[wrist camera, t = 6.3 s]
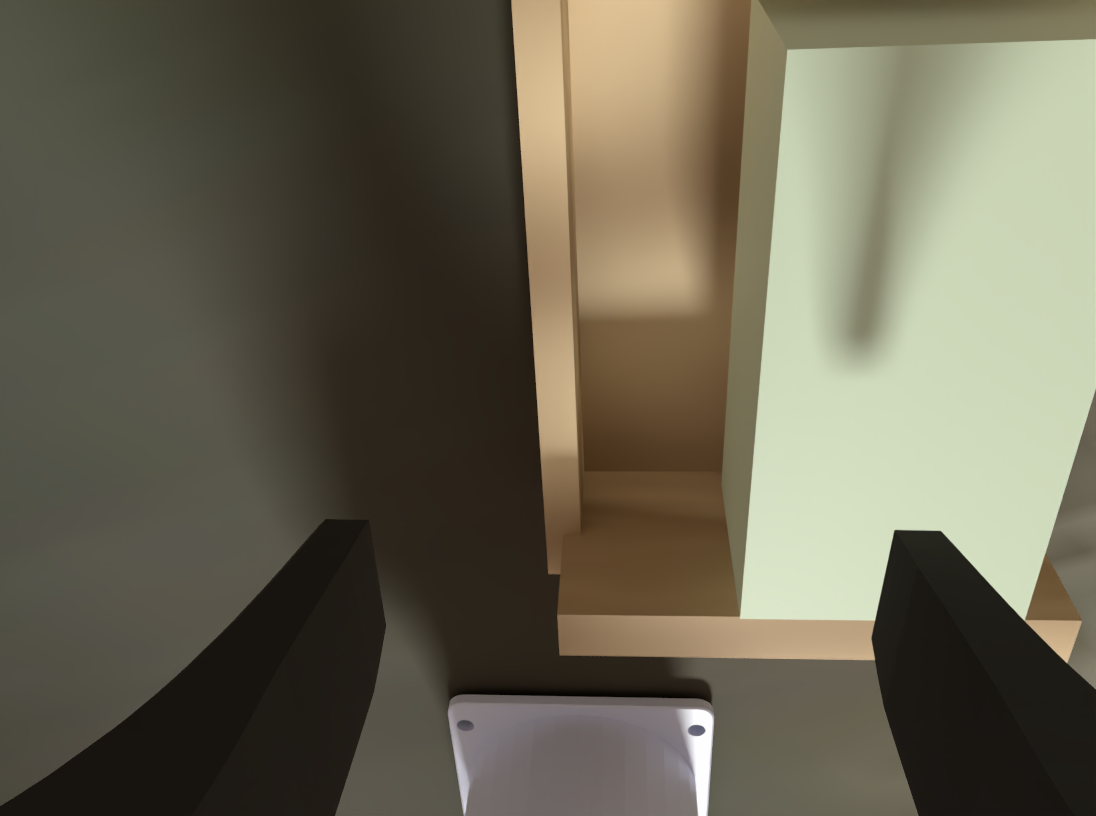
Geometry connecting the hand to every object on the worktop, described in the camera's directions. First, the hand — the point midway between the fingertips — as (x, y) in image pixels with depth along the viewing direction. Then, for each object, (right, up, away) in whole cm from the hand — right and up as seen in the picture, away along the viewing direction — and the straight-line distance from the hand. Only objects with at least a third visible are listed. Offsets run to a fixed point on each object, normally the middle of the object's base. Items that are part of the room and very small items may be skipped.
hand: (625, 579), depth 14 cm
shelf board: (+5, +5, +5) cm, 8 cm away
